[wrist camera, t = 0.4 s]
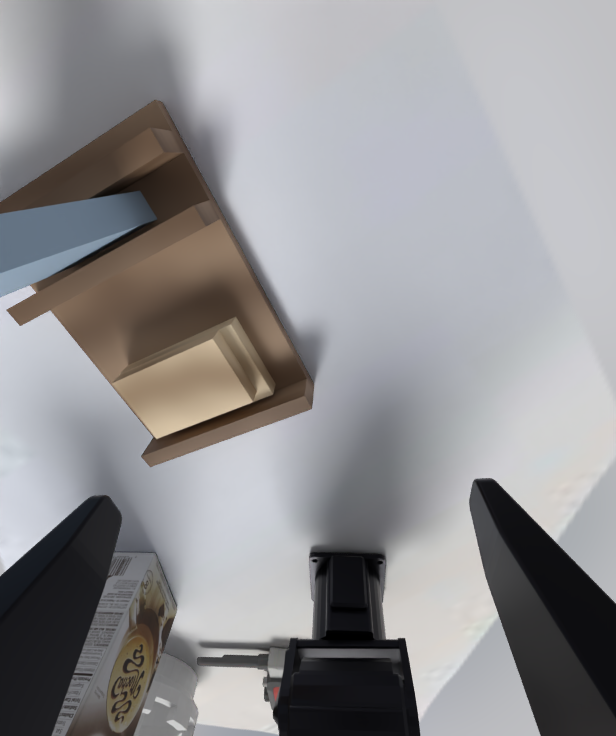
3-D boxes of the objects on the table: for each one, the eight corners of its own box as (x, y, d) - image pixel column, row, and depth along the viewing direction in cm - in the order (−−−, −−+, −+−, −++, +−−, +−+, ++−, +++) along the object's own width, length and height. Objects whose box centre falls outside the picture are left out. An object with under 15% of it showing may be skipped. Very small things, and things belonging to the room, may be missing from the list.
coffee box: (180, 609, 39) (92, 868, 25) (120, 608, 39) (-1, 860, 25) (157, 550, 35) (34, 822, 20) (89, 549, 35) (-76, 814, 21)
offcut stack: (275, 384, 24) (270, 405, 22) (173, 424, 26) (159, 447, 24) (235, 316, 22) (225, 333, 20) (128, 365, 24) (108, 384, 22)
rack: (314, 384, 25) (311, 413, 22) (166, 440, 28) (147, 472, 25) (161, 102, 18) (129, 91, 15) (-13, 216, 21) (-67, 225, 18)
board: (157, 219, 20) (-124, 315, 8) (71, 267, 22) (-276, 411, 9) (140, 190, 19) (-195, 246, 7) (53, 242, 21) (-345, 360, 9)
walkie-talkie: (384, 645, 40) (199, 640, 42) (389, 696, 37) (185, 689, 38) (382, 686, 45) (214, 680, 46) (387, 736, 41) (203, 728, 42)
